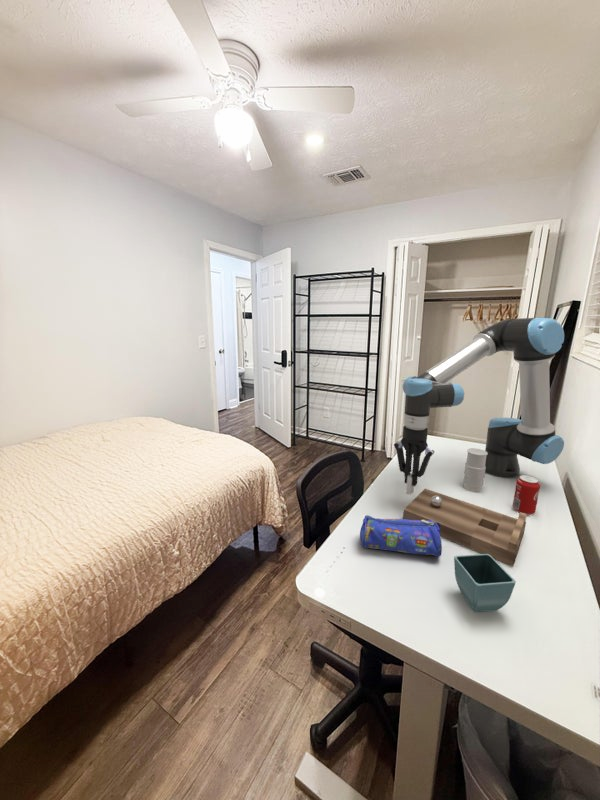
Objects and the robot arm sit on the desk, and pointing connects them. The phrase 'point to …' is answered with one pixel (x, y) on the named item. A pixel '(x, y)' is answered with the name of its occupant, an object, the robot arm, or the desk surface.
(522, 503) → the beverage can
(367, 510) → the desk surface
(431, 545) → the pencil case
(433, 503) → the ball
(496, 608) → the flower pot
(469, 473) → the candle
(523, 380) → the robot arm
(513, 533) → the board
